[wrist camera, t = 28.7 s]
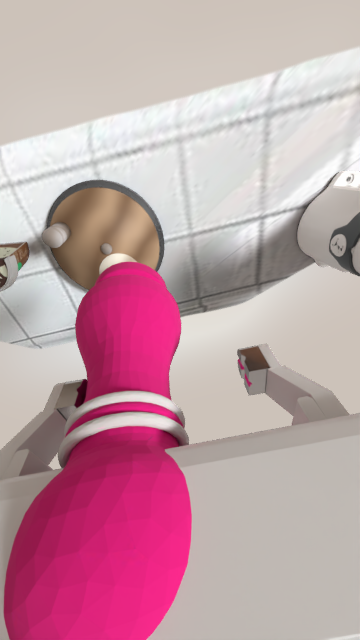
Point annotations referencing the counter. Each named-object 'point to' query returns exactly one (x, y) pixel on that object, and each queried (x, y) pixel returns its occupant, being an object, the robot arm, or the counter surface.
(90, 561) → the pepper mill
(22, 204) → the counter surface
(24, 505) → the robot arm
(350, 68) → the counter surface
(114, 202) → the turntable
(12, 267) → the food container
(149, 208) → the base
